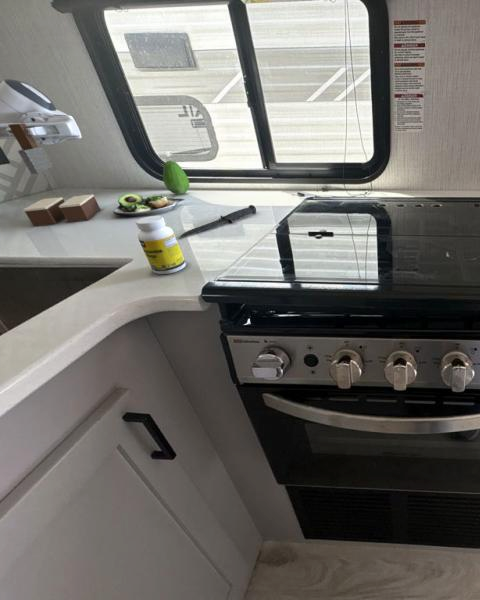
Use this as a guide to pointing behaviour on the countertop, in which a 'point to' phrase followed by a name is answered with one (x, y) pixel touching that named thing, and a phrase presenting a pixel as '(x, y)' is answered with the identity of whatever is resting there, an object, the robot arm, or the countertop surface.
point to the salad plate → (144, 205)
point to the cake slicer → (30, 150)
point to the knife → (223, 220)
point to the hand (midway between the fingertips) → (19, 132)
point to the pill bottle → (160, 245)
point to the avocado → (175, 178)
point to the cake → (62, 210)
